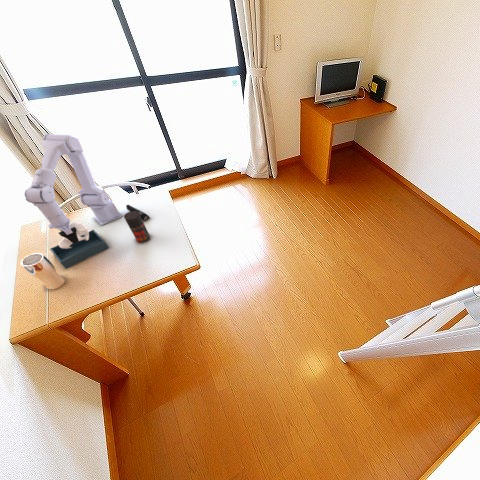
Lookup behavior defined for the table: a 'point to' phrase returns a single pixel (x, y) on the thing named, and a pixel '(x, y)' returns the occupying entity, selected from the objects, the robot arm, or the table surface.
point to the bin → (80, 250)
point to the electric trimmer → (142, 214)
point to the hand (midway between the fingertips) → (72, 237)
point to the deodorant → (137, 226)
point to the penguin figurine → (80, 232)
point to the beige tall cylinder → (42, 270)
